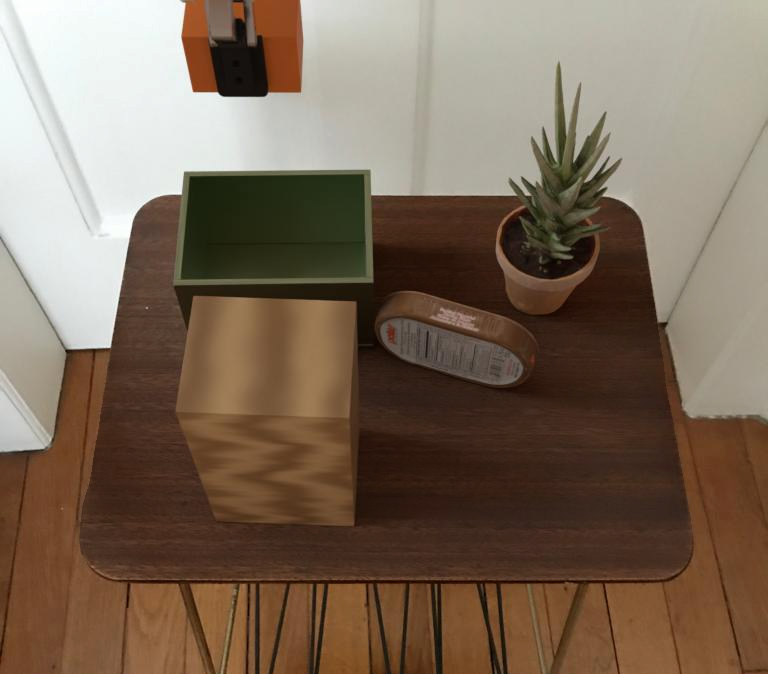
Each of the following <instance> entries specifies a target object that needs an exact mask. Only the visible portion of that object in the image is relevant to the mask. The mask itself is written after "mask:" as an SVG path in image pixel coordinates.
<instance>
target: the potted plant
mask: <svg viewBox="0 0 768 674" xmlns="http://www.w3.org/2000/svg"><path fill="white" fill-rule="evenodd" d="M555 69H556V71H555V80H554V139H555V141H554V142H555V152H556V153H555V154H556V159H555V157H554V155H553V152H552V149H551V146H550V142H549V140H548V136H547V132H546V129H545V127H544V126H541V145H542V150H541V149H540V147H539V145H538V143H537V141H536V140H535V139H534V137H533V136H530V145H531V148H532V152H533V155H534V158H535V160H536V163H537V167H538V169H539V172H540V183H539V182H538V181H537V180H535V183H534V184H532V183H531V182H529V181H528V180H527V179H526V178H525V177H523V175H521V176H520V179H521V183H522V184H523V186H524V188H525V189H526V190H527V192H528V193H529V194H530V196H531V199H530V197H529V198H528V196H527V195H526V194H525V192H524V191H523V189H521V187H520V186H519V185H518V184H517V183H516V182H515V181H514V180H513V179H512V178H511V177H508V181H507V182H508V184H509V186H510V188H511V189H512V191H513V192H514V194H515V195H516V196H517V198H518V199H519V200H520V201H521V203H522V204H523V205H521V206H518V207H517V208H516V209H514V210H512V211H511V212H510V213H508V214H507V215H506V216H505V217H504V218H503V220H501V223H500V224H499V226H498V229H497V232H496V243H495V254H496V259H497V262H498V264H499V267H500V268H501V269H502V270H503V276H504V281H505V291H506V295H507V297H508V299H509V302H510V303H511V304H512V306H514V308H515V309H516V310H518V311H519V312H522V313H524V314H528V315H533V316H534V315H548V314H551V313H554V312H556V311H557V310H558V309H560V308H561V307H562V306H563V304H565V301H566V300H567V299H568V297H569V296H570V295H571V294H572V292H573V291H574V290H575V288H576V287H577V286H578V285H580V284H581V283H582V282H584V281H585V280H586V279H587V277H589V276H590V274H591V272H593V270H594V268H595V266H596V262H597V259H598V256H599V252H600V249H601V243H600V241H601V240H600V234H601V233H603V232H604V231H609V230H611V228H612V227H611V226H602V224H604V220H601V221H599V222H597V223H593V222H592V220H590V219H589V218H590V217H592V216H594V215H595V214H597V213H598V212H599V211H600V209H601V205H597V206H595V204H596V203H598V202H599V200H600V199H601V198H602V197H603V196H604V194H606V192H607V191H608V190H609V187H608V186H605V187H603V186H604V185H605V183H607V181H608V180H609V179H610V178H611V177H612V176H613V174H615V172H616V171H617V169H618V168H619V167H620V165H621V164H622V161H623V157H619V159H618V160H617V161H616V162H614V163H613V164H612V165H611V166H610V167H609V168H607V169H606V170H605V168H606V167H607V164H608V163H609V161H610V159H611V156H610V155H609V156H607V158H606V159H605V161H604V162H603V163H602V165H601V166H600V167H599V169H598V170H597V171H596V173H595V174H594V175H593V176H592V178H591V179H590V180H587V178H588V177H589V176H590V174H591V172H592V171H593V169H594V168H595V166H596V164H597V163H598V162H599V159H600V158H601V156H602V154H603V152H604V150H605V149H606V147H607V145H608V143H609V140H610V137H611V134H612V132H610V131H609V133H608V134H607V135H605V137H604V138H603V139H602V140H601V142H600V138H601V135H602V131H603V129H604V125H605V122H606V116H607V113H608V111H606V110H605V111H604V112H603V114H602V115H601V117H600V119H599V120H598V122H597V124H596V125H595V127H594V128H593V130H592V131H591V133H590V135H587V136H586V138H585V140H584V141H583V144H582V146H581V148H580V150H579V153H578V154H577V156H576V158H575V160H574V157H575V150H576V144H577V143H576V142H577V141H576V138H577V132H576V131H577V130H576V129H577V123H578V115H579V108H580V107H579V106H580V100H581V91H582V82H579V84H578V86H577V88H576V93H575V97H574V100H573V105H572V109H571V112H570V119H569V122H568V129H567V125H566V124H567V123H566V111H565V104H564V91H563V81H562V67H561V63H560V60H558V62H557V64H556V68H555ZM599 142H600V143H599ZM604 170H605V171H604ZM586 180H587V181H586Z"/></svg>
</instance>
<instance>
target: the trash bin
mask: <svg viewBox="0 0 768 674" xmlns="http://www.w3.org/2000/svg"><path fill="white" fill-rule="evenodd" d="M371 173H372V172H371V169H302V170H301V169H299V170H298V169H296V170H295V169H293V170H292V169H289V170H287V169H286V170H285V169H283V170H281V169H280V170H279V169H278V170H202V171H201V170H200V171H196V170H195V171H194V170H192V171H189V170H187V171H183V177H182V186H181V187H182V188H181V198H180V207H179V208H180V209H179V218H178V219H179V220H178V230H177V239H176V241H177V242H176V250H175V251H176V252H175V263H174V271H173V272H174V274H173V284H172V287H173V289H174V292H175V296H176V299H177V302H178V306H179V309H180V312H181V316H182V319H183V321H184V325H185V329H186V331H187V333H188V328H189V322H190V315H191V309H192V303H193V296H211V297H239V298H268V299H296V300H324V301H353V302H356V305H357V345H358V349H374V339H375V338H374V335H375V334H374V331H375V321H374V318H375V317H374V314H375V313H374V309H375V308H374V303H375V302H374V298H375V297H374V296H375V294H374V293H375V291H374V289H375V288H374V279H375V278H374V248H373V247H374V245H373V243H374V242H373V213H372V212H373V207H372V205H373V204H372V174H371Z"/></svg>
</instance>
